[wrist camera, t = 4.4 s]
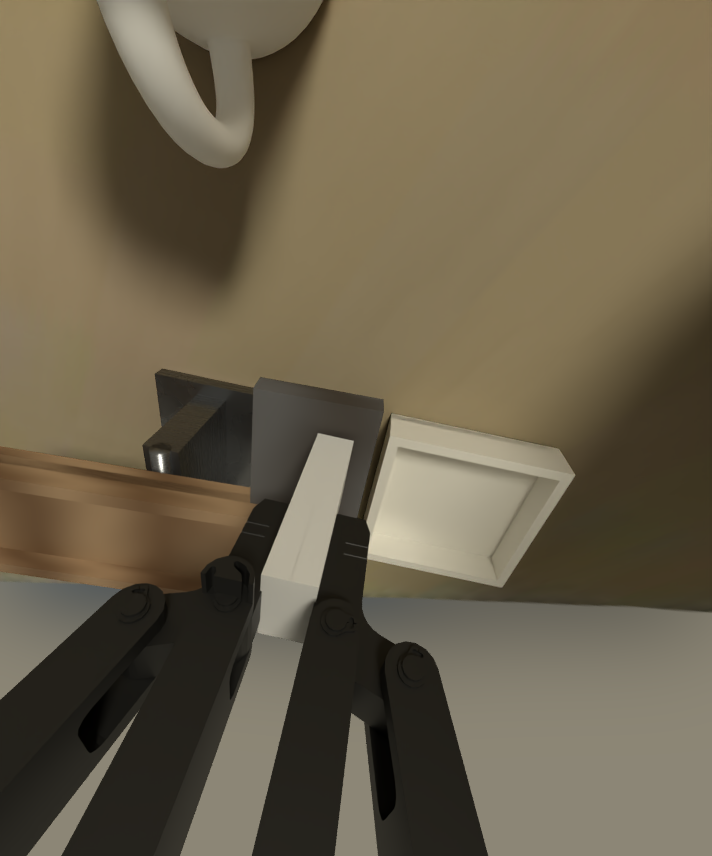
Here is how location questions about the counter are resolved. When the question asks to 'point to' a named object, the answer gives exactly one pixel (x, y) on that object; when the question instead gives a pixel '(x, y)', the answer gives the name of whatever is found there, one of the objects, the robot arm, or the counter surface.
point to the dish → (460, 499)
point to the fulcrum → (202, 429)
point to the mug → (230, 57)
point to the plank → (170, 497)
